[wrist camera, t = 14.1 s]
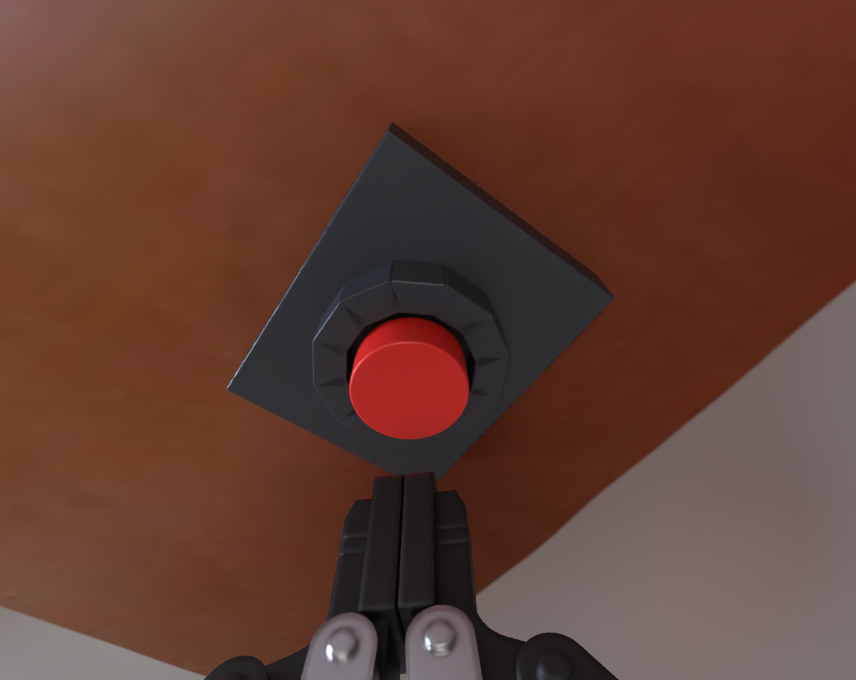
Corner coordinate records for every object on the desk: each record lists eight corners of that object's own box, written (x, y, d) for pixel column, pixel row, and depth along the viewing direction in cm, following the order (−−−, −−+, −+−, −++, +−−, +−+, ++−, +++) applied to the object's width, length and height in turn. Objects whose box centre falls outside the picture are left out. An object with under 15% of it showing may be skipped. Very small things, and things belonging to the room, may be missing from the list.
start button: (423, 426, 20) (424, 457, 18) (334, 377, 19) (326, 405, 17) (488, 354, 18) (494, 381, 17) (394, 295, 17) (392, 318, 15)
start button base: (426, 459, 25) (427, 523, 22) (242, 361, 22) (208, 417, 19) (597, 275, 21) (633, 320, 17) (391, 121, 18) (383, 137, 14)
